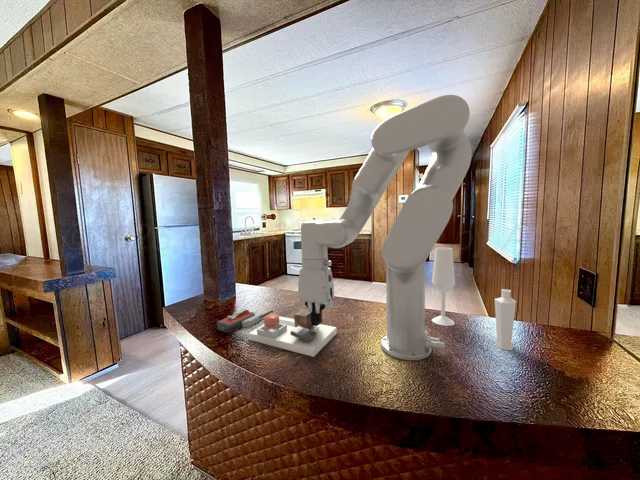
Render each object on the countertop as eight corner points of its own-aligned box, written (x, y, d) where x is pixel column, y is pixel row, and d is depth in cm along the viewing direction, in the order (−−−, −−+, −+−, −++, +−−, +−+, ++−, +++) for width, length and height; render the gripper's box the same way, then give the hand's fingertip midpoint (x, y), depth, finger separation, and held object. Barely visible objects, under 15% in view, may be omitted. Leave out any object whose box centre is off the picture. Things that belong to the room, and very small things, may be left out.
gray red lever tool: (230, 337, 77) (275, 315, 94) (229, 323, 77) (274, 303, 94) (212, 331, 82) (258, 311, 99) (211, 318, 82) (258, 300, 98)
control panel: (336, 333, 76) (336, 322, 76) (313, 356, 64) (313, 343, 64) (278, 321, 87) (277, 311, 87) (249, 339, 75) (248, 328, 74)
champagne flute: (458, 321, 82) (459, 247, 80) (449, 327, 78) (449, 250, 75) (437, 315, 87) (438, 246, 85) (427, 321, 83) (428, 248, 81)
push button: (282, 321, 75) (282, 315, 75) (273, 327, 71) (272, 320, 71) (270, 319, 77) (270, 313, 77) (261, 325, 74) (260, 318, 73)
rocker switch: (316, 336, 70) (317, 332, 70) (309, 342, 66) (309, 338, 66) (298, 328, 72) (298, 325, 72) (290, 334, 69) (290, 330, 69)
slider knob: (314, 323, 79) (313, 310, 78) (306, 329, 74) (305, 316, 74) (303, 320, 81) (303, 308, 80) (294, 327, 76) (294, 314, 76)
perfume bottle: (506, 352, 63) (508, 293, 62) (490, 344, 67) (491, 289, 66) (520, 349, 64) (522, 291, 63) (503, 341, 68) (505, 287, 67)
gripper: (343, 263, 73) (344, 323, 75) (300, 259, 80) (301, 315, 82) (332, 268, 67) (333, 334, 69) (286, 264, 74) (288, 324, 76)
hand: (316, 324), depth 75 cm, fingers closed
